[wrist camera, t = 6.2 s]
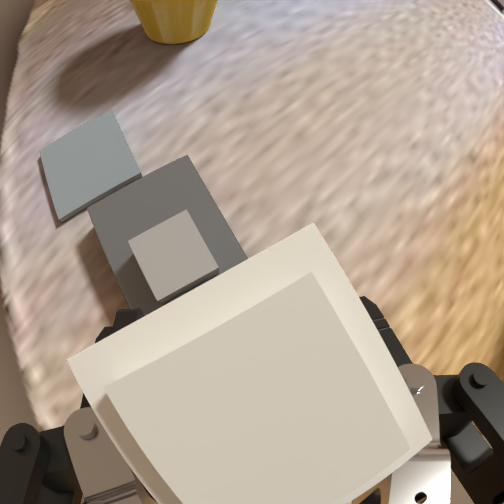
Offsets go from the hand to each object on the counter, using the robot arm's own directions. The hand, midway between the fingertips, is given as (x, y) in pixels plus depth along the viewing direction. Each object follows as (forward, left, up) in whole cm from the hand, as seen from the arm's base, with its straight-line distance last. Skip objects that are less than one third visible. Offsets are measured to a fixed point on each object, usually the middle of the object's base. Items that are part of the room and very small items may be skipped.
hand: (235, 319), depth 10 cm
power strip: (+1, +1, -10) cm, 10 cm away
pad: (+4, -16, -10) cm, 19 cm away
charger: (+1, +2, -4) cm, 5 cm away
